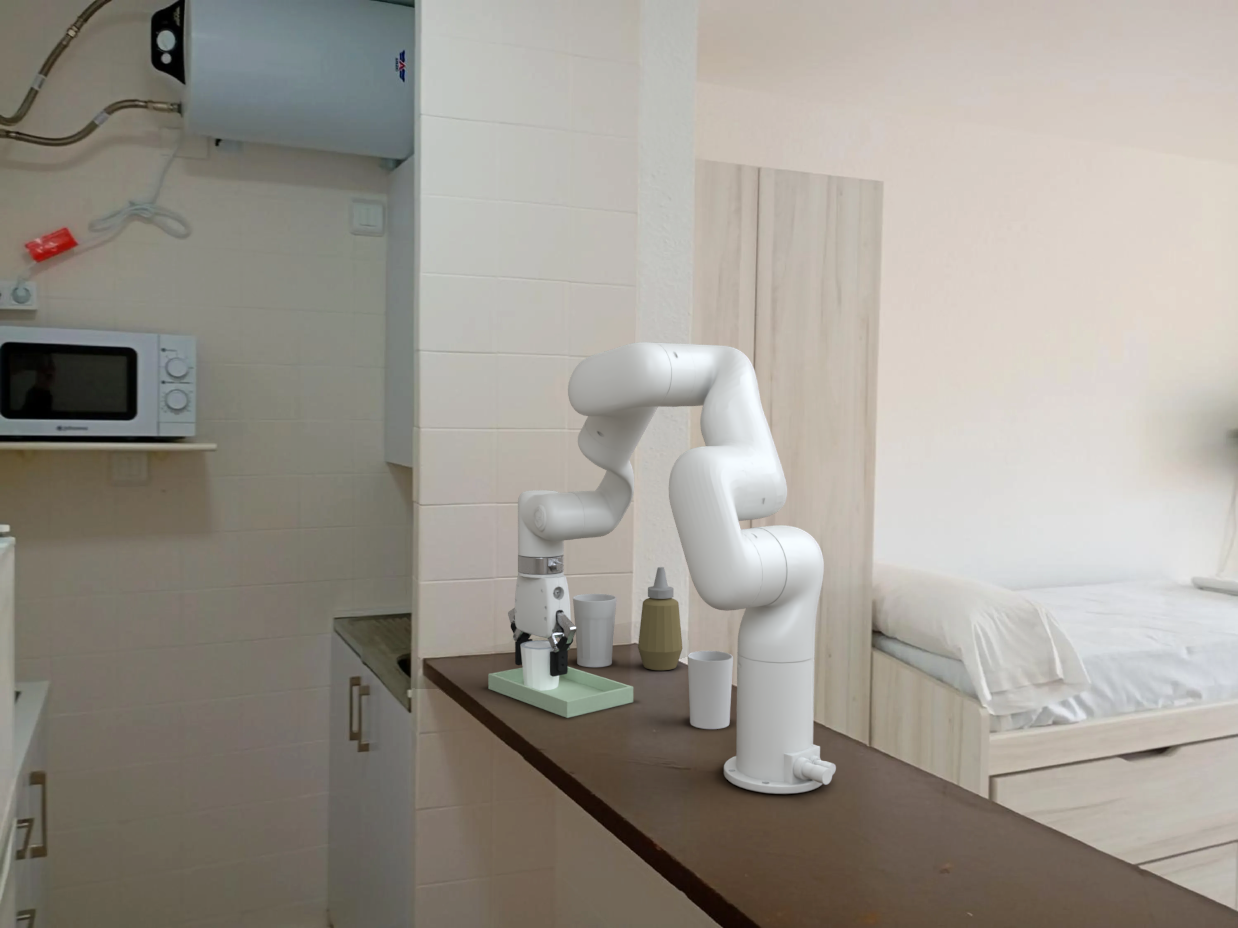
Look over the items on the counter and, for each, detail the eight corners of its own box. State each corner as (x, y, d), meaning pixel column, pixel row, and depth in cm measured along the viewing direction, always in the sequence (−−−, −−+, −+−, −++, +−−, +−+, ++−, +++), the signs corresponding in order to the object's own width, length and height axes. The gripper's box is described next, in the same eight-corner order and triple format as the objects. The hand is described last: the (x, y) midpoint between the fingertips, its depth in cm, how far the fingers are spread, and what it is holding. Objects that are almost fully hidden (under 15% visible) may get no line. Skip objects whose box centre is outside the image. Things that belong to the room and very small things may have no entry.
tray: (633, 702, 163) (633, 686, 163) (567, 718, 154) (567, 701, 154) (552, 675, 179) (552, 661, 179) (488, 688, 170) (488, 673, 170)
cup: (618, 658, 192) (618, 594, 191) (613, 668, 184) (614, 602, 183) (575, 657, 192) (576, 593, 192) (569, 667, 184) (569, 600, 184)
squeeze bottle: (653, 659, 191) (654, 562, 190) (691, 666, 186) (692, 566, 185) (628, 668, 184) (629, 568, 183) (666, 675, 179) (667, 572, 178)
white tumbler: (740, 727, 150) (741, 659, 149) (698, 731, 148) (699, 662, 147) (720, 714, 156) (720, 649, 156) (680, 718, 154) (680, 652, 153)
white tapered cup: (560, 691, 167) (560, 648, 166) (518, 691, 167) (518, 648, 166) (563, 680, 173) (563, 639, 173) (522, 680, 174) (522, 639, 173)
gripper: (592, 569, 165) (591, 675, 166) (528, 558, 178) (528, 656, 179) (554, 574, 160) (554, 683, 161) (492, 562, 173) (492, 663, 174)
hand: (540, 669), depth 170 cm, fingers open, 9 cm apart
